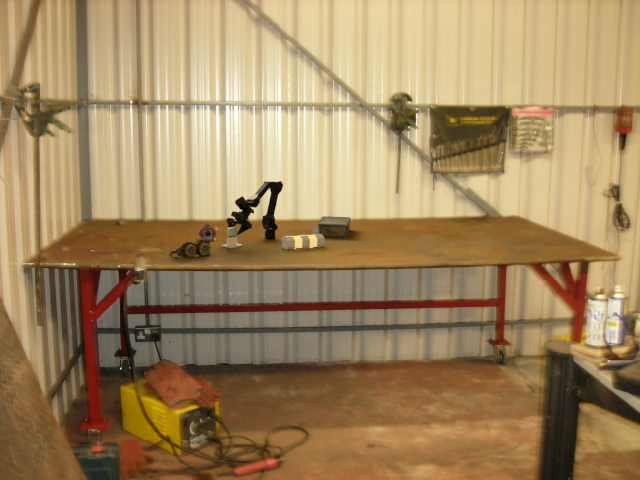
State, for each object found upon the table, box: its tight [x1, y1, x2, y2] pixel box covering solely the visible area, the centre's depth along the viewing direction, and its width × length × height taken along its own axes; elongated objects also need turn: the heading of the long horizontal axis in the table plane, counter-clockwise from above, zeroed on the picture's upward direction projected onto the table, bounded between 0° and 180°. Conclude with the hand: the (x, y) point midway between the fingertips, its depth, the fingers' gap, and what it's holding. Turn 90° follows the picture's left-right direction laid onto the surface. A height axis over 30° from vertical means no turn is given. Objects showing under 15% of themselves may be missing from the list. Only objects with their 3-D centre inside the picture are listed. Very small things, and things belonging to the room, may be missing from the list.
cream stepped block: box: [221, 235, 243, 249], centre depth 416 cm, size 10×8×6 cm
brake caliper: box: [198, 223, 217, 242], centre depth 436 cm, size 11×11×12 cm
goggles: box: [170, 240, 211, 258], centre depth 392 cm, size 24×24×10 cm
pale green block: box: [226, 226, 238, 237], centre depth 415 cm, size 7×2×5 cm, turn 141°
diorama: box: [281, 225, 325, 250], centre depth 416 cm, size 25×10×13 cm, turn 113°
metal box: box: [317, 215, 351, 239], centre depth 463 cm, size 21×32×10 cm, turn 174°
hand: (232, 233), depth 415 cm, fingers open, 9 cm apart
